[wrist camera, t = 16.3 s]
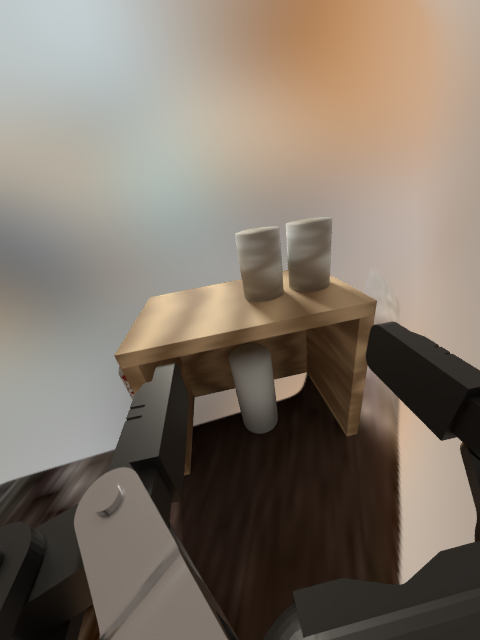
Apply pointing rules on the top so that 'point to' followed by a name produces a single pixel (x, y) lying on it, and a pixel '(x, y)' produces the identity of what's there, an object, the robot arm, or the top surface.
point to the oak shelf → (262, 324)
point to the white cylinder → (254, 386)
